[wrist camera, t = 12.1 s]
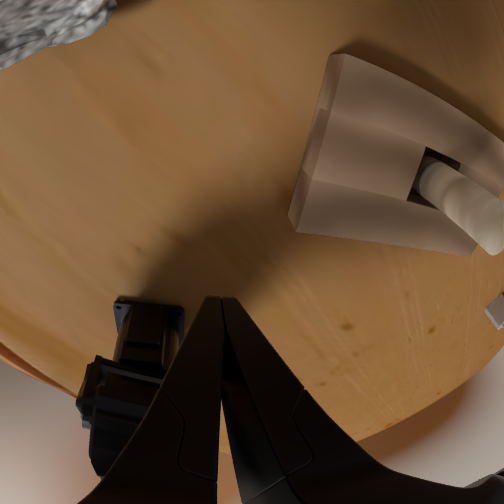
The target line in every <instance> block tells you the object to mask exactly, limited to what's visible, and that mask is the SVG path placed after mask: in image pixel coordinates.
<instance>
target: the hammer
mask: <svg viewBox="0 0 504 504" xmlns="http://www.w3.org/2000/svg"><path fill="white" fill-rule="evenodd" d="M116 6H117V2H116V0H0V69H5V68H7V67H9V66H11V65H13V64H15V63H17V62H19V61H21V60H23V59H25V58H27V57H29V56H31V55H33V54H35V53H37V52H38V51H40V50H42V49H44V48H46V47H51V46H57V45H64V44H68V43H71V42H74V41H76V40H79V39H82V38H85V37H88V36H90V35H92V34H93V33H95V32H96V31H97V30H99V29H100V28H102V27H103V26H105V25H106V24H107V22H108V20H109V18H110V17H111V15H112V13H113V11H114V9H115V8H116Z"/></svg>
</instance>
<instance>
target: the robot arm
mask: <svg viewBox="0 0 504 504" xmlns="http://www.w3.org/2000/svg"><path fill="white" fill-rule="evenodd" d="M113 308H114V314H115V320H116V326H117V331H118V338H117V342H116V347H115V352H114V356H113V361H112V360H109V359H105V358H102V356H99V355H96V357H95V360H94V362H92V363H91V364H88V365H87V369H86V373H85V377H84V381H83V383H82V386H81V388H80V391H79V393H78V396H77V399H76V407H77V408H78V410H79V411H80V413H81V418H82V427H83V428H86V429H89V430H91V431H90V442H89V457H90V459H91V463H92V465H93V468H94V470H95V472H96V474H97V475H98V476H99V477H100V478H101V481H100V483H99V484H98V485H97V486H96V487H95V488H94V489H93V491H92V492H91V493H89V494H88V495H87V496H86V497H85V498H84V499H82V500H81V501H80V502H79V503H77V504H217V483H216V482H217V476H218V452H219V430H220V411H221V400H222V406H223V411H224V417H225V423H226V428H227V434H228V439H229V444H230V449H231V454H232V459H233V464H234V469H235V474H236V479H237V483H238V488H239V492H240V497H241V501H242V503H243V504H504V468H503V469H501V470H500V471H498V472H496V473H495V474H490V475H488V476H486V477H484V478H482V479H480V480H478V481H476V482H474V483H472V484H470V485H468V486H466V487H464V488H461V487H454V486H450V485H445V484H440V483H436V482H432V481H428V480H424V479H420V478H416V477H412V476H409V475H406V474H402V473H399V472H396V471H393V470H391V469H389V468H387V467H385V466H384V465H382V464H381V463H379V462H378V461H376V460H375V459H374V458H373V457H372V456H371V455H369V454H368V453H367V452H366V451H365V450H364V449H363V448H362V447H361V446H359V445H358V444H357V443H356V442H355V441H354V440H353V439H352V438H351V437H350V436H349V435H348V434H347V433H345V432H344V431H343V430H342V429H341V428H340V427H339V426H338V425H337V424H336V423H335V422H334V421H333V420H332V419H331V418H330V417H329V416H328V415H327V414H326V412H325V411H324V410H323V409H322V408H321V407H320V405H319V404H318V403H317V402H316V401H315V400H314V398H313V397H312V396H311V395H310V393H309V392H308V391H307V390H306V389H305V390H304V386H303V385H302V384H301V382H300V381H299V380H298V379H297V377H296V376H295V375H294V373H293V372H292V371H291V370H290V368H289V367H288V366H287V365H286V363H285V362H284V361H283V359H282V358H281V357H280V356H279V354H278V353H277V352H276V350H275V349H274V348H273V346H272V345H271V344H270V342H269V341H268V340H267V339H266V337H265V336H264V335H263V333H262V332H261V331H260V329H259V328H258V327H257V325H256V324H255V323H254V321H253V320H252V319H251V317H250V316H249V315H248V313H247V312H246V311H245V309H244V308H243V307H242V305H241V304H240V302H239V301H238V300H237V299H236V298H234V297H222V298H221V299H220V297H219V296H205V297H204V299H203V301H202V303H201V305H200V307H199V309H198V311H197V313H196V315H195V317H194V319H193V321H192V323H191V325H190V327H189V329H188V331H187V333H186V335H185V337H184V339H183V331H184V315H185V310H184V308H182V307H179V306H168V305H157V304H147V303H138V302H129V301H120V300H117V301H115V302H114V306H113Z"/></svg>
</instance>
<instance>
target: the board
mask: <svg viewBox="0 0 504 504" xmlns="http://www.w3.org/2000/svg"><path fill="white" fill-rule="evenodd" d="M426 146H427V147H429V148H431V149H433V150H435V151H438V152H440V153H442V156H441V159H440V161H442V162H444V163H445V164H446V165H447V166H449V167H451V168H453V169H454V170H456V171H458V172H459V173H461V174H462V175H464V176H466V177H467V178H469V179H470V180H472V181H473V182H475V183H477V184H478V185H480V186H481V187H483V188H484V189H486V190H487V191H488V192H490V193H491V194H493V195H494V196H496V197H497V198H499V196H500V193H501V191H502V188H503V186H504V142H502V141H501V140H500V139H499V138H497V137H496V136H495V135H493V134H492V133H491V132H489V131H488V130H487V129H485V128H484V127H483V126H481V125H480V124H478V123H477V122H476V121H474V120H473V119H471V118H470V117H468V116H467V115H465V114H464V113H462V112H461V111H459V110H458V109H456V108H455V107H453V106H452V105H450V104H448V103H447V102H445V101H443V100H442V99H440V98H438V97H437V96H435V95H433V94H431V93H430V92H428V91H426V90H424V89H422V88H421V87H419V86H417V85H415V84H413V83H411V82H409V81H407V80H405V79H403V78H401V77H399V76H397V75H395V74H393V73H391V72H389V71H387V70H384V69H382V68H380V67H378V66H375V65H373V64H371V63H368V62H366V61H363V60H361V59H358V58H356V57H353V56H351V55H348V54H334V55H329V59H328V63H327V67H326V71H325V75H324V79H323V83H322V87H321V91H320V95H319V99H318V103H317V107H316V111H315V115H314V118H313V122H312V126H311V130H310V134H309V137H308V141H307V145H306V149H305V153H304V156H303V160H302V164H301V167H300V171H299V175H298V178H297V182H296V186H295V189H294V193H293V196H292V200H291V204H290V207H289V211H288V214H287V215H288V217H289V219H290V221H291V223H292V225H293V227H294V229H295V231H296V232H299V233H308V234H316V235H323V236H331V237H339V238H346V239H354V240H361V241H368V242H376V243H383V244H390V245H397V246H404V247H410V248H417V249H424V250H430V251H437V252H443V253H449V254H456V255H462V256H468V257H471V255H472V253H473V251H474V249H475V247H476V246H477V244H478V243H477V242H476V241H475V240H474V239H473V238H472V237H470V236H469V235H468V234H467V233H466V232H465V231H464V230H463V229H462V228H460V227H459V226H458V225H457V224H456V223H455V222H454V221H452V220H451V219H450V218H449V217H448V216H446V215H445V214H444V213H443V212H442V211H440V210H439V209H438V208H437V207H435V206H434V205H433V204H432V203H430V202H429V201H427V200H426V199H424V198H423V197H421V196H418V195H415V194H411V193H409V192H410V189H411V187H412V184H413V182H414V179H415V176H416V173H417V171H418V168H419V165H420V162H421V159H422V157H423V154H424V151H425V148H426Z"/></svg>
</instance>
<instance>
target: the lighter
mask: <svg viewBox="0 0 504 504" xmlns="http://www.w3.org/2000/svg"><path fill="white" fill-rule="evenodd" d="M485 313H486V314H487V316H488V317H489V318H490V320H491V321H492V322H493V324H494V325H495V326H496V328H497V329H498V330H500V329H501V328H502V327H503V328H504V296H503V295H502V294H500V295H499V296H498V297H497V298H496V299H495V300H494V301H493V302H492V303H491V304H490V305H488V306H487V307H486V308H485Z"/></svg>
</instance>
